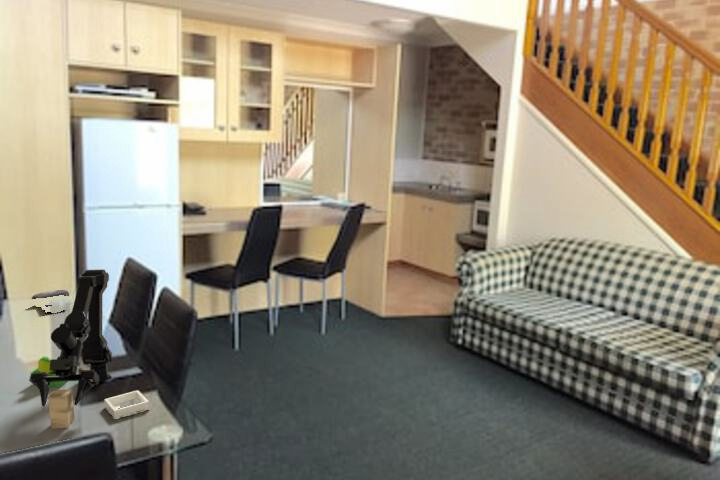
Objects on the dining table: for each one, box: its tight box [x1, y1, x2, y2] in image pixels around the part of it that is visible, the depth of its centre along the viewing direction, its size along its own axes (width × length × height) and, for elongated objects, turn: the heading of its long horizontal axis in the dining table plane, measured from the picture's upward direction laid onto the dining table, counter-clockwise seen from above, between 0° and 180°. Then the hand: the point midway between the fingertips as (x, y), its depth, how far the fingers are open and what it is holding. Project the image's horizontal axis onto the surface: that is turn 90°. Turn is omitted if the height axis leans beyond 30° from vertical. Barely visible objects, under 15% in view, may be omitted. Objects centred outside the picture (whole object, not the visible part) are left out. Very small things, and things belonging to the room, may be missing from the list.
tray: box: [104, 389, 150, 419], centre depth 187 cm, size 11×11×3 cm
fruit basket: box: [29, 356, 68, 388], centre depth 205 cm, size 11×9×11 cm
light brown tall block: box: [47, 388, 76, 430], centre depth 177 cm, size 5×5×10 cm
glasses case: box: [31, 289, 70, 299], centre depth 302 cm, size 18×10×8 cm, turn 136°
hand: (59, 405), depth 175 cm, fingers open, 9 cm apart
